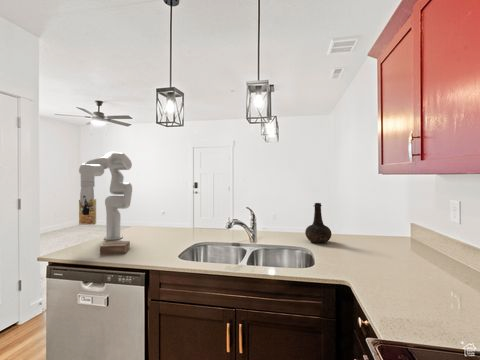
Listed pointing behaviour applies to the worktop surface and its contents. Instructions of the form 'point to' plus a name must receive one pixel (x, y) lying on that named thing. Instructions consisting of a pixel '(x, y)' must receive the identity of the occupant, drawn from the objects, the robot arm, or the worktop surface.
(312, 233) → the glass bottle
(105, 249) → the walnut block
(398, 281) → the worktop surface
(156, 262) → the worktop surface
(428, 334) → the worktop surface
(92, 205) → the candy box
